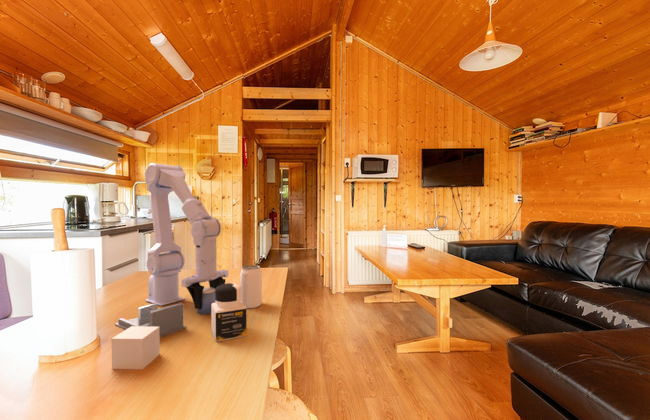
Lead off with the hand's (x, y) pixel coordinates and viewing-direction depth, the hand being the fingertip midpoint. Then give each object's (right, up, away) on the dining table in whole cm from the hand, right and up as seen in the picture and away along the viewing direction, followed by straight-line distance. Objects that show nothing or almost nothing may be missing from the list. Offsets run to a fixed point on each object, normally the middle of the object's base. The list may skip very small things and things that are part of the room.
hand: (206, 305), depth 92 cm
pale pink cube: (-3, -3, -29) cm, 29 cm away
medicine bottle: (+11, -2, -16) cm, 19 cm away
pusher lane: (-10, -2, -11) cm, 15 cm away
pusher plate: (-11, -1, -11) cm, 15 cm away
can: (+12, -2, +6) cm, 13 cm away
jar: (0, -2, 0) cm, 2 cm away
